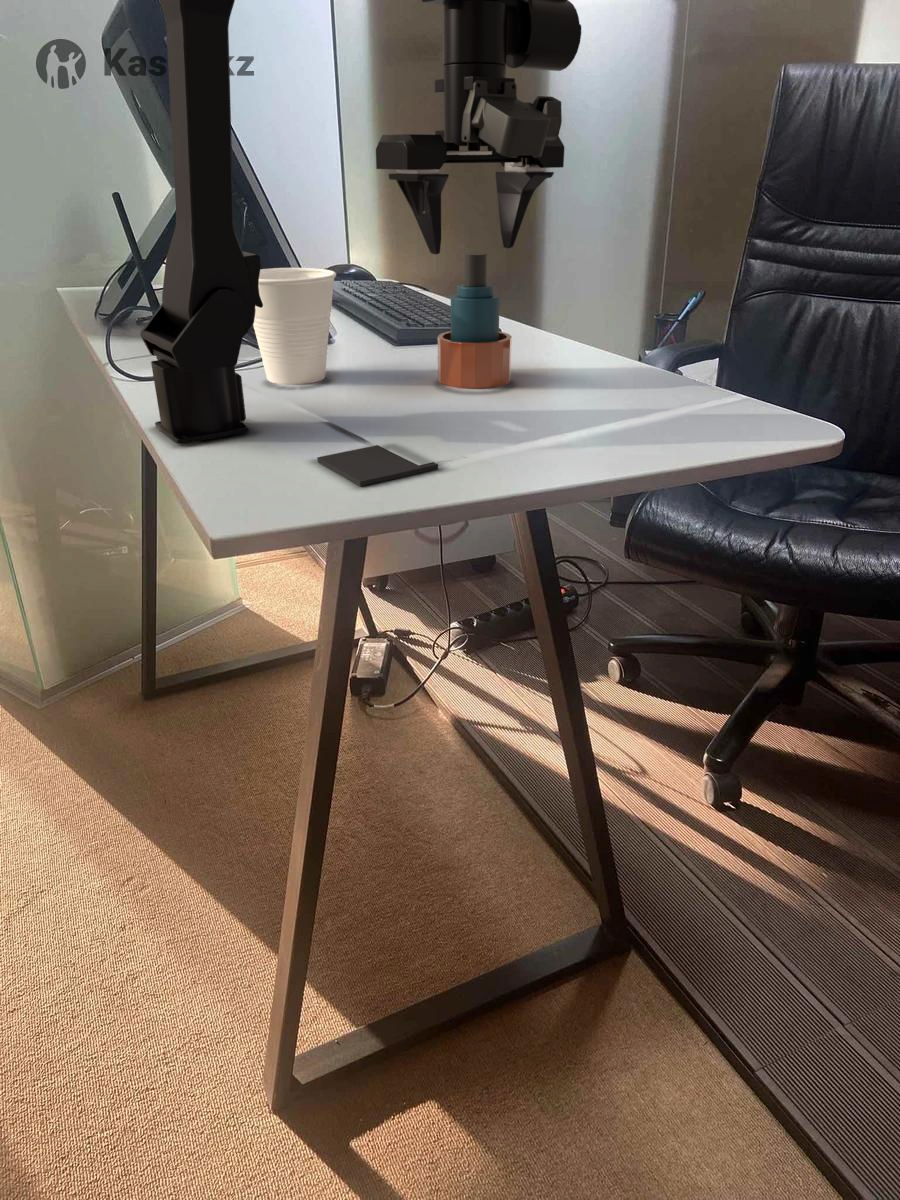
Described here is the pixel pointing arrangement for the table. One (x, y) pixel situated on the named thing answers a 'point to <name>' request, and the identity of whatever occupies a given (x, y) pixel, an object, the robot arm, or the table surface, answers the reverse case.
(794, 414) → the table surface
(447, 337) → the holder
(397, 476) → the coaster
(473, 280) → the bottle
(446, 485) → the table surface
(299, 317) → the cup
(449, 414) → the table surface
